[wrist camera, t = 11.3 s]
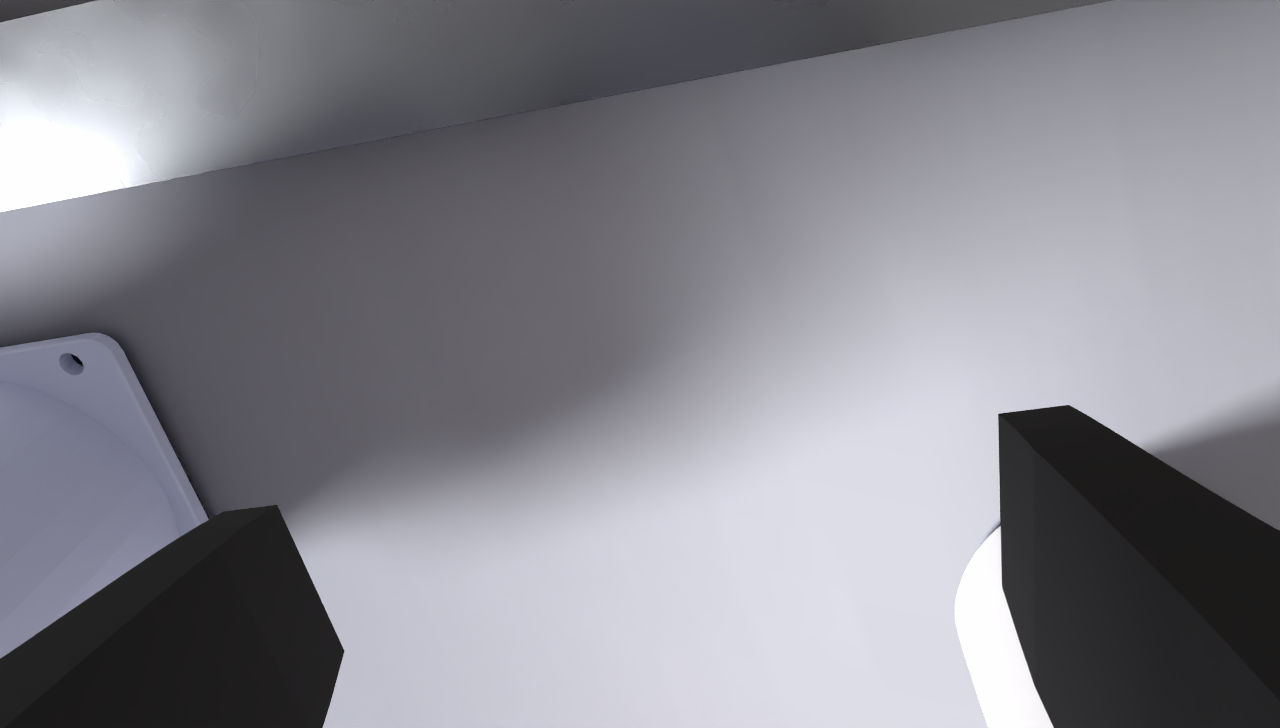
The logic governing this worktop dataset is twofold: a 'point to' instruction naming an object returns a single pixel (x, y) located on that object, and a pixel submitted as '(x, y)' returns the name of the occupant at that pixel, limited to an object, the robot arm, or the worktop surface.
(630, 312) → the worktop surface
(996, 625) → the can
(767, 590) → the worktop surface
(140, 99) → the rail plate
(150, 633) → the robot arm
